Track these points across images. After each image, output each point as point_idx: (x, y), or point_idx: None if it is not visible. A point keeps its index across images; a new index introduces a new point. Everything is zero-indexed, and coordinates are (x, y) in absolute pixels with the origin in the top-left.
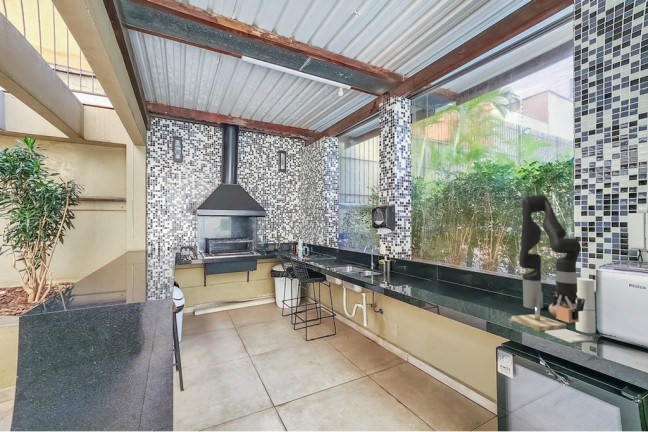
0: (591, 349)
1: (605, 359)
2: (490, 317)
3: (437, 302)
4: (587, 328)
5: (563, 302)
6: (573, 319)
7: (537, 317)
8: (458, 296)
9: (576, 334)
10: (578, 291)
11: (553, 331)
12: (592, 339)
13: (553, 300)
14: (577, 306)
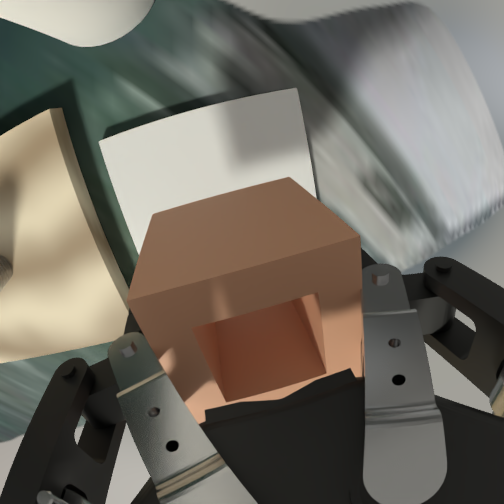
0: (395, 213)
1: (459, 236)
2: (12, 405)
3: None
4: (144, 1)
5: (187, 407)
6: None
7: (3, 287)
8: None
9: (216, 140)
10: None
11: None
12: (296, 93)
13: (106, 459)
14: (464, 361)
